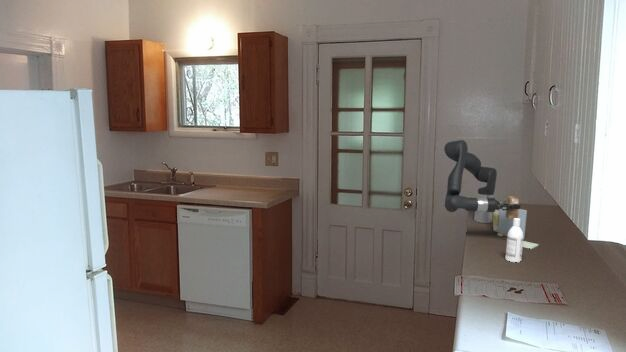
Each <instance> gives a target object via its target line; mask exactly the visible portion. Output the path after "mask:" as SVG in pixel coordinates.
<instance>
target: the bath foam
mask: <svg viewBox="0 0 626 352" xmlns="http://www.w3.org/2000/svg"><path fill="white" fill-rule="evenodd" d="M523 241H524V240H523V232H522V230H521V228H520V219H519V218H514V219H513V226H512V228H511V229H510V230H509V232H508V235H507V236H506V246H505V247H506V248H505V257H504V258H505V260H506V261H508V262H509V261H510V263H515V262H517V263H521V262H522V257H523V248H524V247H523ZM520 261H521V262H520Z"/></svg>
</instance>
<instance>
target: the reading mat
mask: <svg viewBox="0 0 626 352" xmlns="http://www.w3.org/2000/svg"><path fill="white" fill-rule="evenodd" d="M538 246H539V243H534V242H529V241H526V240H523V248H526V249H529V248H530V250H532V249H535V248H536V247H538Z"/></svg>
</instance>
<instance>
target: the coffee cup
mask: <svg viewBox="0 0 626 352" xmlns="http://www.w3.org/2000/svg"><path fill="white" fill-rule="evenodd" d="M499 217H500V210H499V209H497V208H496V210H495V212H492V225H493V226H492V227H493V228H492V230H493V231H494V232H497V233H498V229H499Z"/></svg>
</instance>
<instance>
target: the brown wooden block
mask: <svg viewBox="0 0 626 352" xmlns="http://www.w3.org/2000/svg"><path fill="white" fill-rule="evenodd" d="M506 202H507V203H508V204H516V205H520V197H518V196H515V195H514V196H513V195H509V196H508V195H507V196H506ZM509 208H510V207H509ZM518 210H519V209H513V210H506V217H507V218H508V219H514V218H518Z"/></svg>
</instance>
